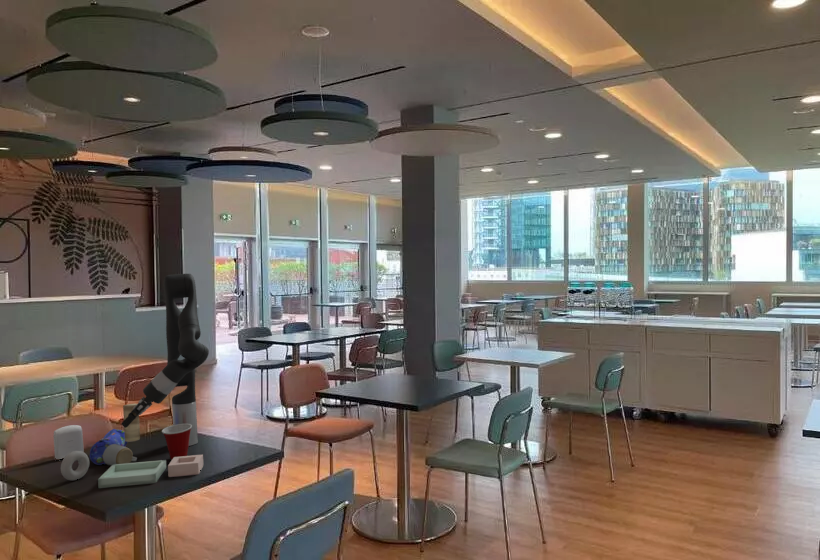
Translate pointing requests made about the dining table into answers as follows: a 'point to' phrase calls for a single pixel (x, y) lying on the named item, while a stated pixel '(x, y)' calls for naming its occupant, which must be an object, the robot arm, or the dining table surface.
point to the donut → (69, 460)
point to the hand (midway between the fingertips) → (125, 423)
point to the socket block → (185, 465)
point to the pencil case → (106, 445)
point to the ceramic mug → (118, 455)
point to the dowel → (131, 424)
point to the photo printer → (67, 440)
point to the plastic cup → (177, 439)
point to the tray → (132, 474)
